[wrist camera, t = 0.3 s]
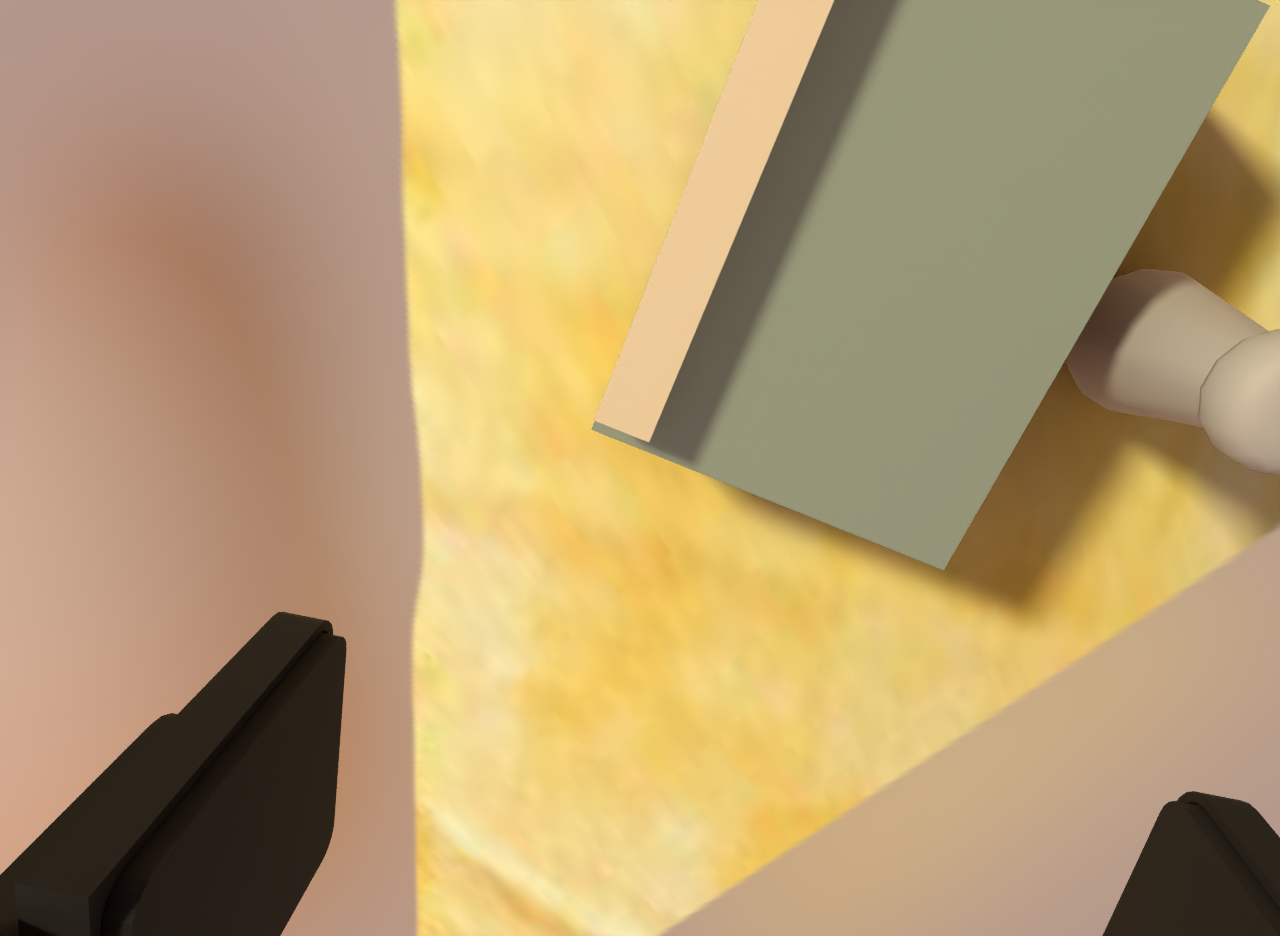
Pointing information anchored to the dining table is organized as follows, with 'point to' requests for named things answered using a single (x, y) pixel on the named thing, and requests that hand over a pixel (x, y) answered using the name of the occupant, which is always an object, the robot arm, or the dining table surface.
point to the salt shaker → (1184, 363)
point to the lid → (906, 243)
